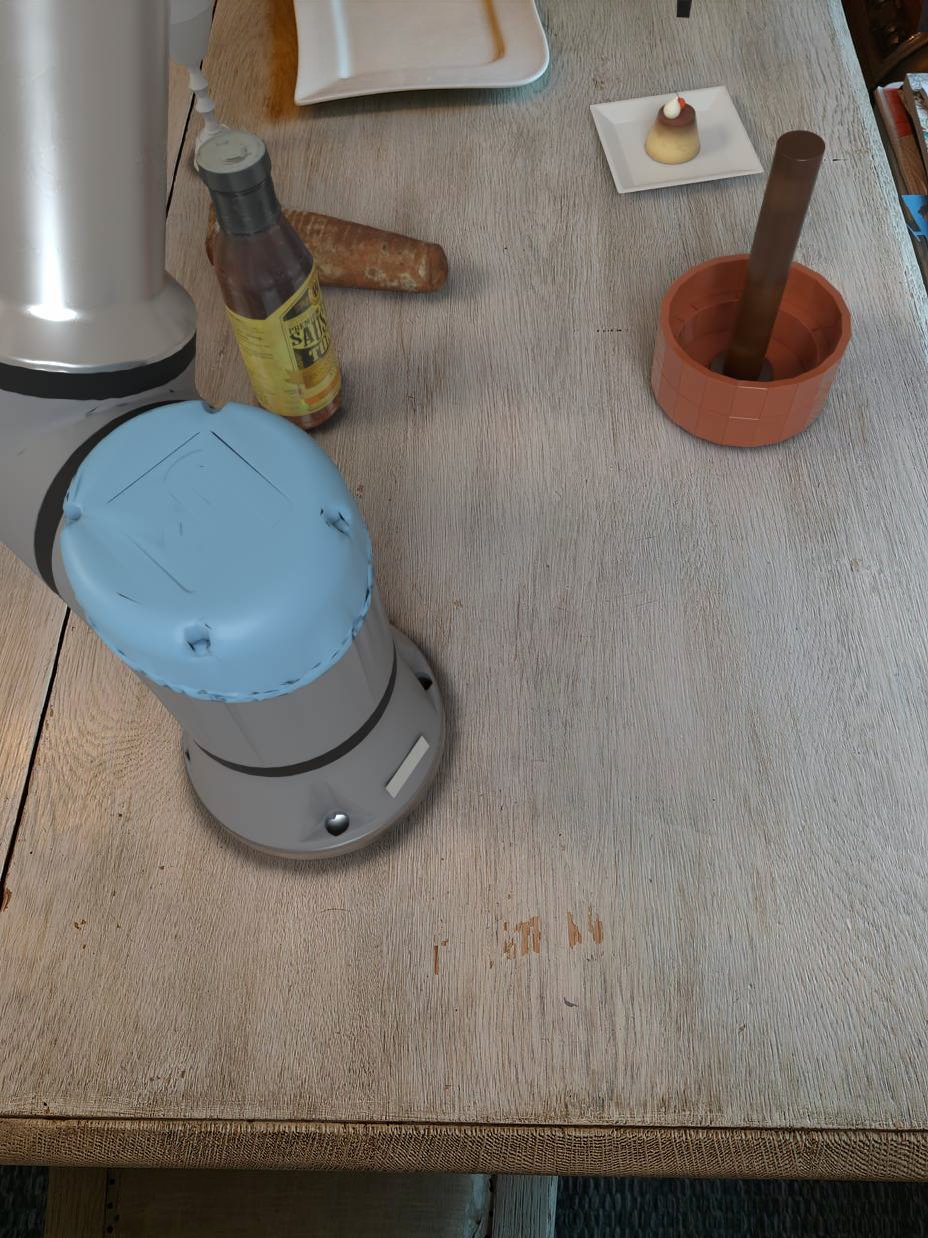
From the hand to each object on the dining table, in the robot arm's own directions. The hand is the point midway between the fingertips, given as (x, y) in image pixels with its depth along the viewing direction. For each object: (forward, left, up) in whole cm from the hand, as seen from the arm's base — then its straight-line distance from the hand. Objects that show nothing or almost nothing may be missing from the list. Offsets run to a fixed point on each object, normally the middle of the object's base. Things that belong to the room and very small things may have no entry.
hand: (803, 17), depth 54 cm
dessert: (-11, +15, -21) cm, 28 cm away
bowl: (+3, -8, -21) cm, 22 cm away
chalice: (-47, -1, -21) cm, 52 cm away
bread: (-30, -9, -21) cm, 38 cm away
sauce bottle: (-25, -22, -21) cm, 39 cm away
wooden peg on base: (+3, -8, -20) cm, 22 cm away
